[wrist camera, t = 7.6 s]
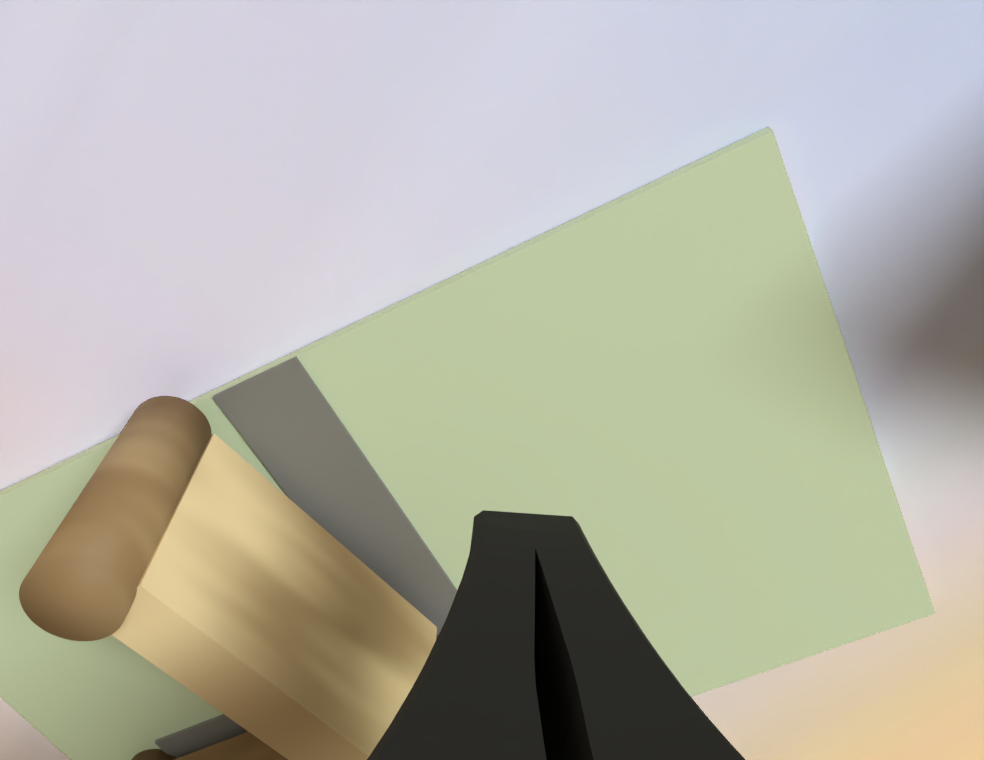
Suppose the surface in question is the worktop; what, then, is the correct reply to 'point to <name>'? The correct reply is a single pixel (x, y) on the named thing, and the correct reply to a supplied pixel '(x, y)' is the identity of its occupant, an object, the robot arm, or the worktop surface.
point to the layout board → (552, 450)
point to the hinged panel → (229, 591)
